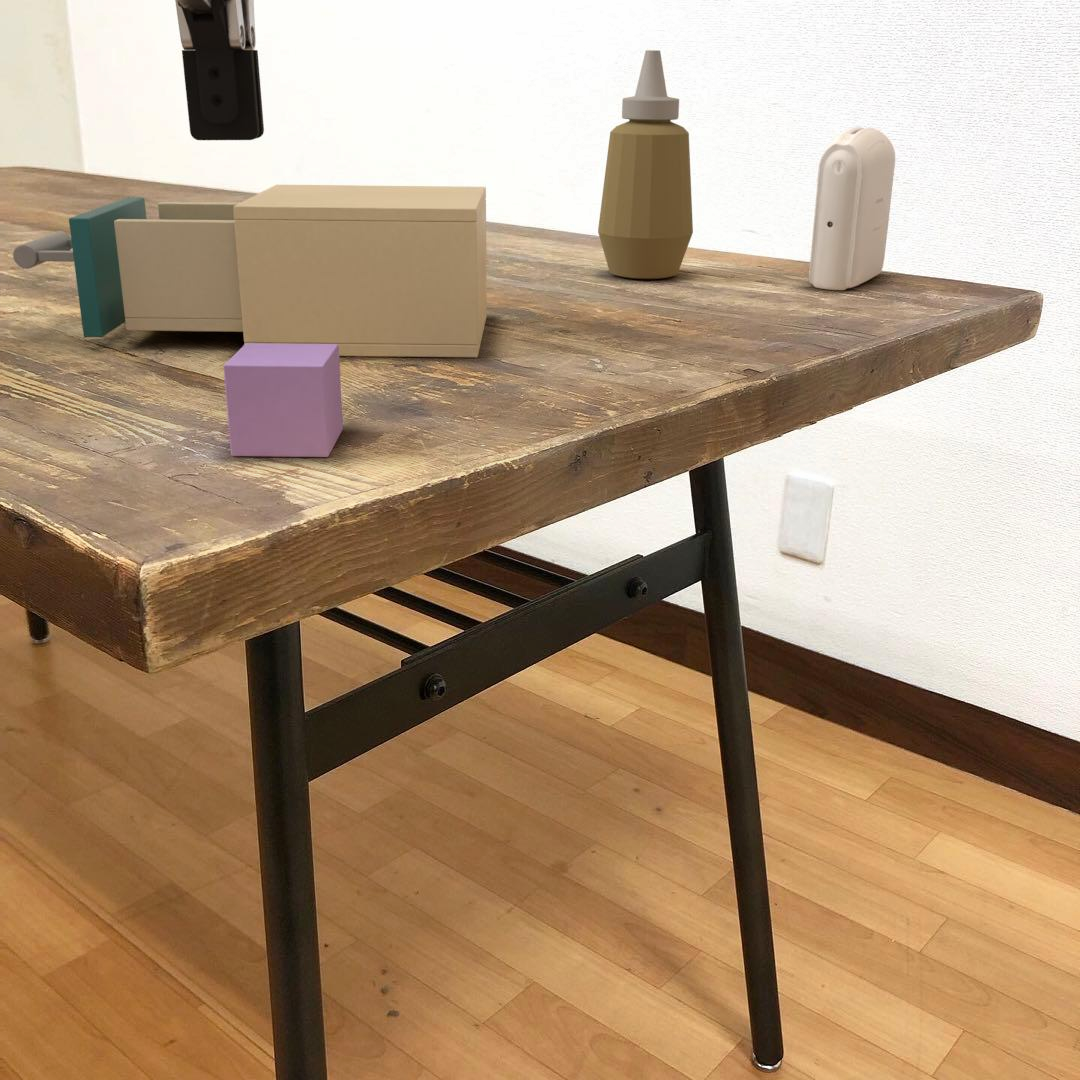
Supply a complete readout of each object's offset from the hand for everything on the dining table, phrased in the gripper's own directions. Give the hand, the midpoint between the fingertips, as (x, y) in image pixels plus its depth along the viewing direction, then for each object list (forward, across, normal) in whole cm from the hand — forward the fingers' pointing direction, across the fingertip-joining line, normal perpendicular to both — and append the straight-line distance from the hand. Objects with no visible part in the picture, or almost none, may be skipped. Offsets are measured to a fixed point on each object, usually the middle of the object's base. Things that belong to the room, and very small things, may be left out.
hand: (228, 138), depth 60 cm
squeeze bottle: (+14, -44, +24) cm, 53 cm away
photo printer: (+14, -42, +41) cm, 61 cm away
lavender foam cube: (+14, +5, +3) cm, 15 cm away
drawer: (+13, -20, -9) cm, 25 cm away
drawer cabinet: (+14, -20, +4) cm, 24 cm away
